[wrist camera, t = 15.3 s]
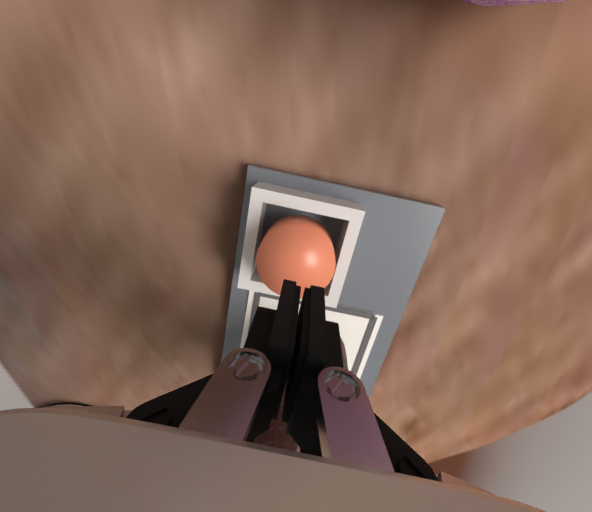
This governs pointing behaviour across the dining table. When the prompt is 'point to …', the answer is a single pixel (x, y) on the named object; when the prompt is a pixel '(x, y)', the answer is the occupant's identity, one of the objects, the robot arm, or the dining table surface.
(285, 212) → the grey piece
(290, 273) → the button
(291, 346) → the robot arm
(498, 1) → the bowl of food
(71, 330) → the dining table surface
